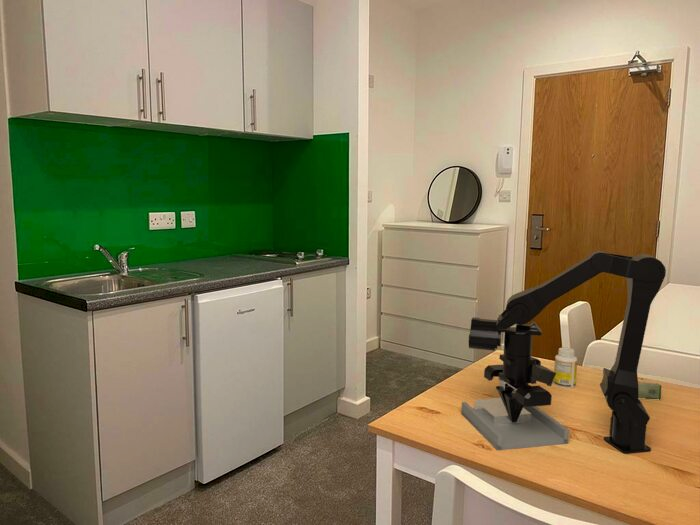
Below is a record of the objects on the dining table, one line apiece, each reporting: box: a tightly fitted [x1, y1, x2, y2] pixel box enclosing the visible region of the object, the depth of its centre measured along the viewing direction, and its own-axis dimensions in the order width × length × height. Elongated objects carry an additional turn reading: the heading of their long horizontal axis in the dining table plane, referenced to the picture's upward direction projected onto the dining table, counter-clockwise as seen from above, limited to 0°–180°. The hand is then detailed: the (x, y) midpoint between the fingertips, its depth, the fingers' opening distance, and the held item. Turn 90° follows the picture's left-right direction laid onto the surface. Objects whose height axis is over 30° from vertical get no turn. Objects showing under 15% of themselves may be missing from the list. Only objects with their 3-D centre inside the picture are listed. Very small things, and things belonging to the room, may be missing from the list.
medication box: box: [638, 381, 662, 401], centre depth 138 cm, size 12×3×4 cm, turn 80°
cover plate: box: [473, 397, 531, 425], centre depth 124 cm, size 10×9×2 cm
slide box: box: [460, 401, 570, 451], centre depth 119 cm, size 18×16×3 cm
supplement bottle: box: [553, 347, 578, 389], centre depth 145 cm, size 6×6×10 cm
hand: (513, 421), depth 118 cm, fingers closed
